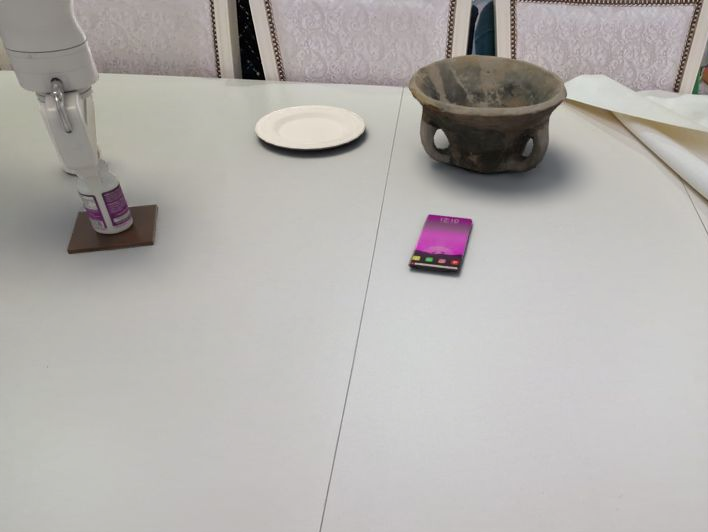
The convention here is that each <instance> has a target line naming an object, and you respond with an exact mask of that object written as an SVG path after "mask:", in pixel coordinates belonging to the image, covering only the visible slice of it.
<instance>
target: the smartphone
mask: <svg viewBox="0 0 708 532" xmlns="http://www.w3.org/2000/svg"><path fill="white" fill-rule="evenodd" d="M472 225H473V219H472V218H468V217H457V216H450V215H449V216H448V215H440V214H439V215H438V214H431V213H430V214H428V215H427V216H426V218H425V221H424V224H423V226H422V229H421V231H420V233H419V236H418V239H417V241H416V244H415V246H414V249H413V251H412V254H411V256H410V259H409V262H408V264H407V266H408V267H409V268H412V269H422V270H430V271H438V272H446V273H454V274H457V273H459V272H460V269H461V265H462V262H463V258H464V254H465V250H466V248H467V243H468V240H469V236H470V232H471V230H472V229H471V228H472Z"/></svg>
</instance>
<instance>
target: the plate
mask: <svg viewBox="0 0 708 532" xmlns="http://www.w3.org/2000/svg"><path fill="white" fill-rule="evenodd" d="M365 130H366V122H365V120H364V119H363V118H362V117H361V116H360V115H358V114H357V113H356V112H353V111H351V110H348V109H345V108H342V107H336V106H330V105H319V104H318V105H317V104H316V105H314V104H311V105H310V104H309V105H298V106H291V107H285V108H281V109H278V110H275V111H272V112H269V113H268V114H266V115H264V116H263V117H261V118H259V120H258V121H257V122H256V124H255V125H254V133H255V134H256V137H258V138H259V139H260V140H261V141H263V142H265V143H266V144H268V145H272V146H274V147H277V148H280V149H288V150H293V151H294V150H296V151H322V150H329V149H334V148H337V147H341V146H344V145H348V144H351V143H353V142H354V141H356V140H357V139H358V138H360V137H361V136H362V135H363V134H364V133H365Z"/></svg>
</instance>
